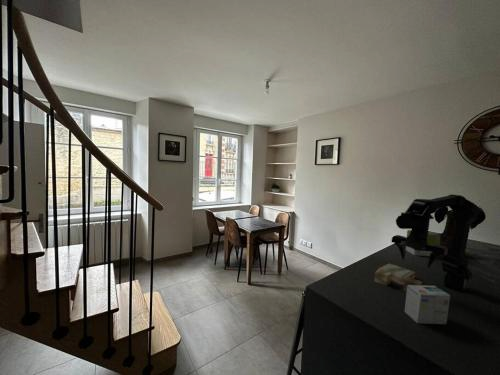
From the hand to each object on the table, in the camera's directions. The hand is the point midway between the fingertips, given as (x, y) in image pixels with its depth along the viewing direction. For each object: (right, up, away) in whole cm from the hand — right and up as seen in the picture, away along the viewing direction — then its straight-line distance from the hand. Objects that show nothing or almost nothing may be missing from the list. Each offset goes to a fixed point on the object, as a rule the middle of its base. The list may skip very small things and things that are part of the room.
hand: (415, 263), depth 96 cm
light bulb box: (-10, -14, -17) cm, 24 cm away
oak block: (-10, -12, +8) cm, 17 cm away
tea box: (+42, -11, +51) cm, 68 cm away
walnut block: (-1, -13, +1) cm, 13 cm away
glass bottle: (+66, -12, +58) cm, 89 cm away
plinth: (+1, -12, +15) cm, 19 cm away
